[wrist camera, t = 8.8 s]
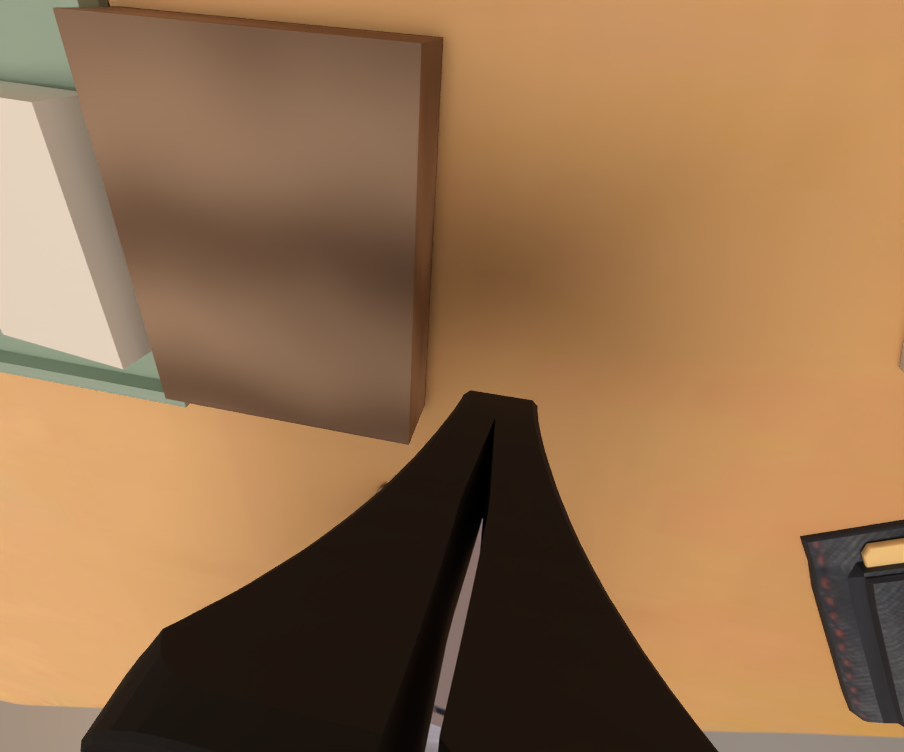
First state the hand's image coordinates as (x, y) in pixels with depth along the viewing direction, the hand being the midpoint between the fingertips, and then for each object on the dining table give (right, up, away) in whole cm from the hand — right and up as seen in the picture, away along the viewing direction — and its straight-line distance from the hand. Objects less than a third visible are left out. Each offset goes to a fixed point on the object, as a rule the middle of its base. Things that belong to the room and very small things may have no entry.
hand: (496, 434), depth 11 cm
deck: (-7, +6, +9) cm, 12 cm away
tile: (-15, +7, +9) cm, 19 cm away
